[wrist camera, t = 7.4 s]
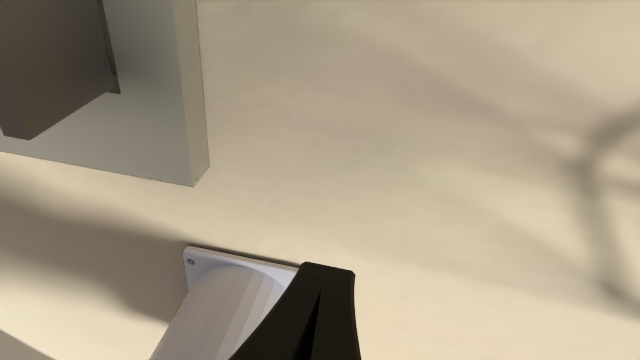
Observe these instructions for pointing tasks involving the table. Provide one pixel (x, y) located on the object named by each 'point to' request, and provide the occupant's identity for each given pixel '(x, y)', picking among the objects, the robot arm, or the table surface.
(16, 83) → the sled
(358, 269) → the table surface
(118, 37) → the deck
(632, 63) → the table surface
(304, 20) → the table surface
